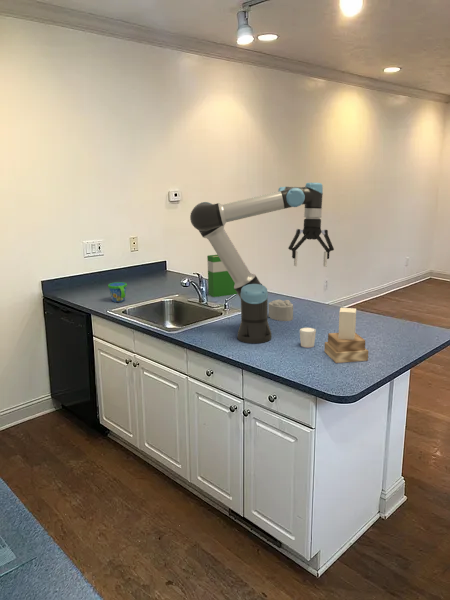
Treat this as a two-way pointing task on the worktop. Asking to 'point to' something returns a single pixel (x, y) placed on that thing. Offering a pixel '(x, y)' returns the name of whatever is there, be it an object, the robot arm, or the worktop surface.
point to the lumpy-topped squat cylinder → (281, 310)
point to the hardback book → (219, 278)
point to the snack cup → (117, 291)
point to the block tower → (346, 349)
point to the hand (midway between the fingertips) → (310, 266)
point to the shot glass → (307, 337)
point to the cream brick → (347, 323)
